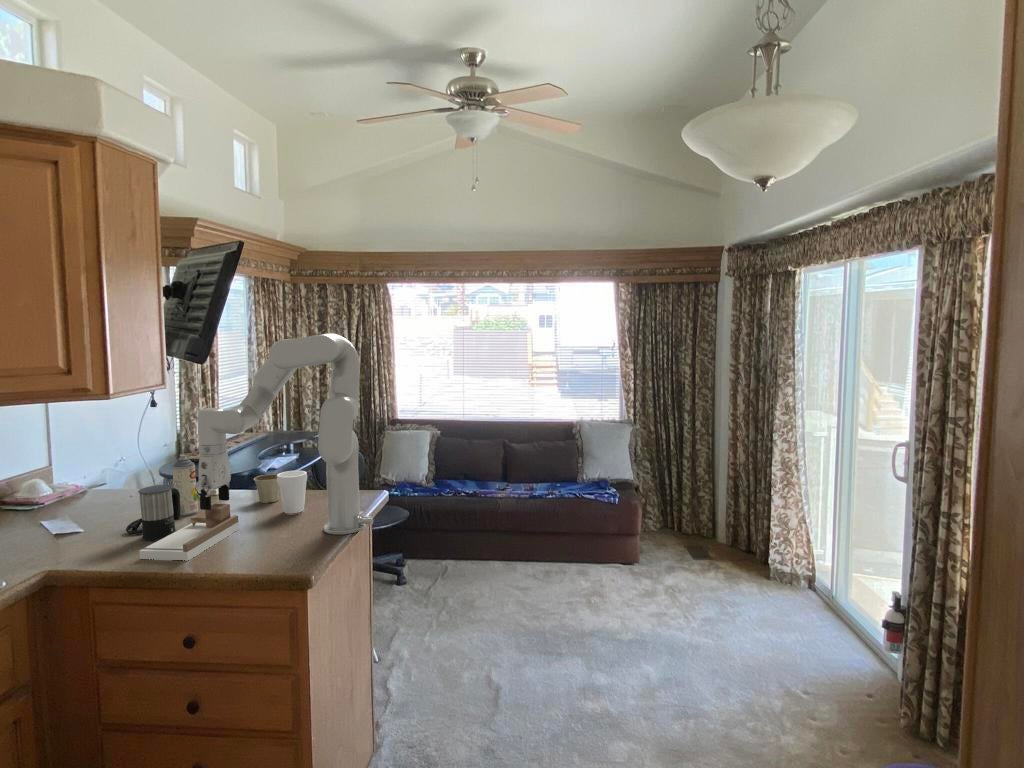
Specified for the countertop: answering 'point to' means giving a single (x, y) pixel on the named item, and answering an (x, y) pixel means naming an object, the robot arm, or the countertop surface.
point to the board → (189, 541)
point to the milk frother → (157, 512)
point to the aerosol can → (185, 485)
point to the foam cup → (292, 490)
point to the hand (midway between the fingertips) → (215, 504)
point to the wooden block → (213, 515)
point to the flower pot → (267, 488)
